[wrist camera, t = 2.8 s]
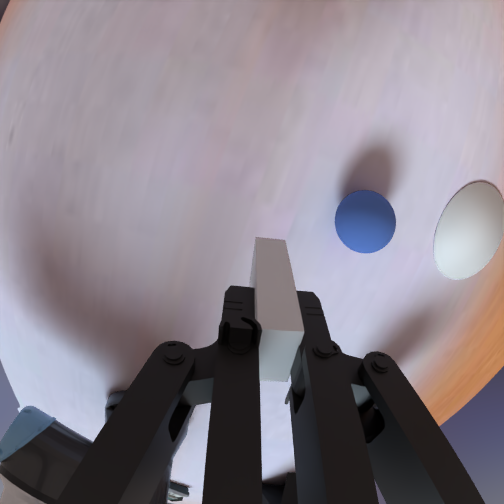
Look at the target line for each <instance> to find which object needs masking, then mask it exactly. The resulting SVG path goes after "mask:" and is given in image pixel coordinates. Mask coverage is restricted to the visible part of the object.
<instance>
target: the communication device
mask: <svg viewBox="0 0 504 504" xmlns="http://www.w3.org/2000/svg"><path fill="white" fill-rule="evenodd" d="M188 496H189V492H188V488H187V487H184V486H181V485H178V484H175V483H173V482H170V484H169V492H168V500H170V501H182V499H183V497H188Z"/></svg>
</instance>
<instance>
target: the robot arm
mask: <svg viewBox="0 0 504 504" xmlns="http://www.w3.org/2000/svg"><path fill="white" fill-rule="evenodd" d="M290 374H291V382H292V384H291V386H290V389H289V391H288V394H287V397H286V399H285V404H288V402H289V401H290V411H291V422H292V434H293V445H294V457H295V470H296V483H297V496H298V504H379V502H378V497H377V491H376V486H375V482H374V479H375V481H376V483H377V485H378V487H379V489H380V491H381V493H382V495H383V497H384V499H385V501H386V503H387V504H485V503H484V501H483V499H482V497H481V495H480V494H479V492H478V490H477V488H476V487H475V485H474V483H473V481H472V480H471V478H470V476H469V474H468V473H467V471H466V470H465V468H464V466H463V464H462V463H461V461H460V459H459V458H458V457H457V455H456V453H455V451H454V450H453V448H452V446H451V445H450V443H449V442H448V440H447V438H446V437H445V435H444V434H443V432H442V431H441V429H440V428H439V426H438V424H437V423H436V421H435V420H434V418H433V417H432V415H431V414H430V412H429V411H428V409H427V408H426V406H425V405H424V403H423V402H422V400H421V399H420V397H419V396H418V394H417V393H416V391H415V390H414V389H413V387H412V386H411V384H410V383H409V381H408V380H407V378H406V377H405V376H404V374H403V373H402V371H401V370H400V368H399V367H398V366H397V364H396V363H395V361H394V360H393V359H392V358H391V357H390V356H388V355H386V354H385V353H382V352H378V351H377V352H370V353H368V354H366V356H365V357H364V359H361V358H357V357H353V356H349V355H346V354H344V353H342V351H341V349H340V347H339V346H338V345H337V344H336V343H335V342H334V341H332V340H331V337H330V334H329V330H328V327H327V323H326V320H325V316H324V313H323V310H322V306H321V303H320V300H319V298H318V297H317V296H316V295H315V294H314V293H313V292H307V291H296V287H295V283H294V278H293V273H292V269H291V264H290V259H289V255H288V250H287V246H286V241H285V240H279V239H270V238H261V237H256V239H255V246H254V253H253V261H252V268H251V275H250V287H241V286H230V287H229V288H228V290H227V291H226V292H225V297H224V305H223V313H222V321H221V323H220V325H219V335H218V339H217V341H216V342H215V343H213V344H212V345H210V346H208V347H205V348H200V349H192V348H191V347H190V346H189V345H187V344H185V343H183V342H179V341H168V342H165V343H162V344H160V345H159V346H158V347H157V348H156V349H155V350H154V352H153V353H152V354H151V356H150V357H149V359H148V360H147V362H146V363H145V365H144V366H143V368H142V369H141V371H140V372H139V374H138V375H137V377H136V378H135V380H134V381H133V383H132V384H131V385H130V387H129V388H128V390H127V391H120V392H116V393H113V394H111V395H110V396H109V398H108V401H107V404H106V407H105V425H104V426H103V428H102V429H101V431H100V433H99V434H98V436H97V437H96V439H95V440H94V442H93V441H91V440H89V439H87V438H85V437H84V436H82V435H80V434H78V433H76V432H75V431H73V430H71V429H70V428H68V427H66V426H64V425H63V424H61V423H60V422H58V421H57V420H56V418H55V417H51V416H49V415H47V414H46V413H44V412H43V411H41V410H39V409H38V408H36V407H34V406H26V407H24V408H23V409H22V410H21V412H20V413H19V414H18V416H17V417H16V418H15V420H14V421H13V423H12V424H11V426H10V427H9V429H8V430H7V432H6V433H5V435H4V436H3V438H2V440H1V441H0V462H1V465H0V478H1V480H2V482H3V485H4V490H3V493H2V496H1V499H0V504H167V501H168V492H169V484H170V476H171V468H172V462H173V458H174V456H175V454H176V452H177V451H178V449H179V447H180V445H181V444H182V442H183V440H184V438H185V437H186V435H187V431H188V424H189V422H188V421H189V419H190V417H191V415H192V412H193V410H194V408H195V406H196V405H199V404H205V403H211V411H210V421H209V431H208V442H207V452H206V463H205V475H204V486H203V499H202V504H262V461H261V416H260V381H281V382H288V379H289V376H290Z"/></svg>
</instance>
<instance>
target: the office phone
mask: <svg viewBox="0 0 504 504" xmlns="http://www.w3.org/2000/svg"><path fill="white" fill-rule="evenodd" d="M262 504H298V496H297V483H296V473H291V472H288V474H287V479H286V483H285V486H277V485H266V484H262Z"/></svg>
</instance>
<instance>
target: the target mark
mask: <svg viewBox="0 0 504 504" xmlns="http://www.w3.org/2000/svg"><path fill="white" fill-rule="evenodd" d="M503 232H504V202H503V199H502V197H501V195H500V193H499V192H498V191H497V189H496V188H494V187H493V186H492V185H490V184H488V183H484V182H476V183H472V184H469V185H468V186H466V187H464V188H463V189H461V190H460V191H459V192H458V193H457V194H456V195H455V196H454V197H453V198H452V199H451V200H450V202H449V203H448V205H447V206H446V208H445V209H444V211H443V213H442V215H441V217H440V219H439V222H438V225H437V228H436V232H435V236H434V244H433V253H434V259H435V263H436V265H437V268H438V269H439V271H440V272H441V273H442V274H443V275H444V276H446V277H447V278H450V279H453V280H461V279H466V278H468V277H471V276H473V275H474V274H476V273H477V272H479V271H480V270H481V269H482V268H483V267H484V266H486V264H487V263H488V262H489V261H490V260H491V258H492V257H493V255H494V254H495V252H496V250H497V248H498V246H499V244H500V242H501V239H502V236H503Z"/></svg>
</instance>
